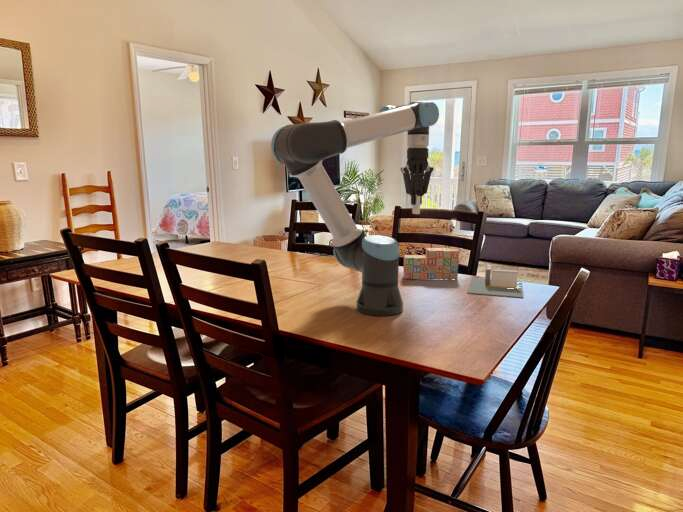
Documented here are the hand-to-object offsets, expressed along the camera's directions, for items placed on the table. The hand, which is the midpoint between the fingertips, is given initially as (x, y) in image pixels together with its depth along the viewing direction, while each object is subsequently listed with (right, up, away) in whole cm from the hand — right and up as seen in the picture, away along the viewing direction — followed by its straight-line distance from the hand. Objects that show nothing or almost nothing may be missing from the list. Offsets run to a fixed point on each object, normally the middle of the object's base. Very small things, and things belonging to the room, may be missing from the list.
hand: (415, 213), depth 174 cm
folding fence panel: (+33, -27, +7) cm, 43 cm away
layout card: (+31, -28, +7) cm, 42 cm away
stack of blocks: (+9, -25, +22) cm, 34 cm away
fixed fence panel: (+31, -26, +14) cm, 42 cm away
